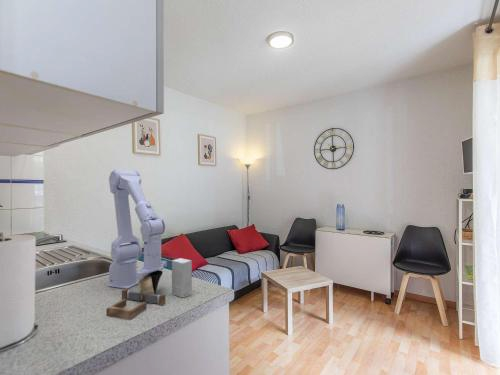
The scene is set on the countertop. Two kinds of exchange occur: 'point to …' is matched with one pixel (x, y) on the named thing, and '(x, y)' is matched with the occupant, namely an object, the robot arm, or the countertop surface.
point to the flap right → (152, 298)
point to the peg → (146, 286)
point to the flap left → (133, 295)
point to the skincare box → (181, 277)
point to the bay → (124, 310)
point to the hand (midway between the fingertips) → (152, 292)
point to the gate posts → (161, 297)
